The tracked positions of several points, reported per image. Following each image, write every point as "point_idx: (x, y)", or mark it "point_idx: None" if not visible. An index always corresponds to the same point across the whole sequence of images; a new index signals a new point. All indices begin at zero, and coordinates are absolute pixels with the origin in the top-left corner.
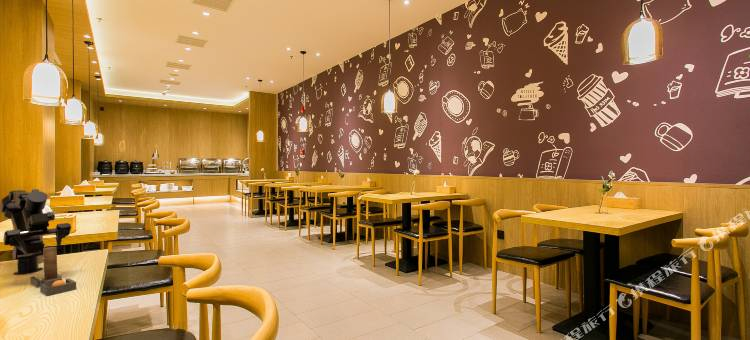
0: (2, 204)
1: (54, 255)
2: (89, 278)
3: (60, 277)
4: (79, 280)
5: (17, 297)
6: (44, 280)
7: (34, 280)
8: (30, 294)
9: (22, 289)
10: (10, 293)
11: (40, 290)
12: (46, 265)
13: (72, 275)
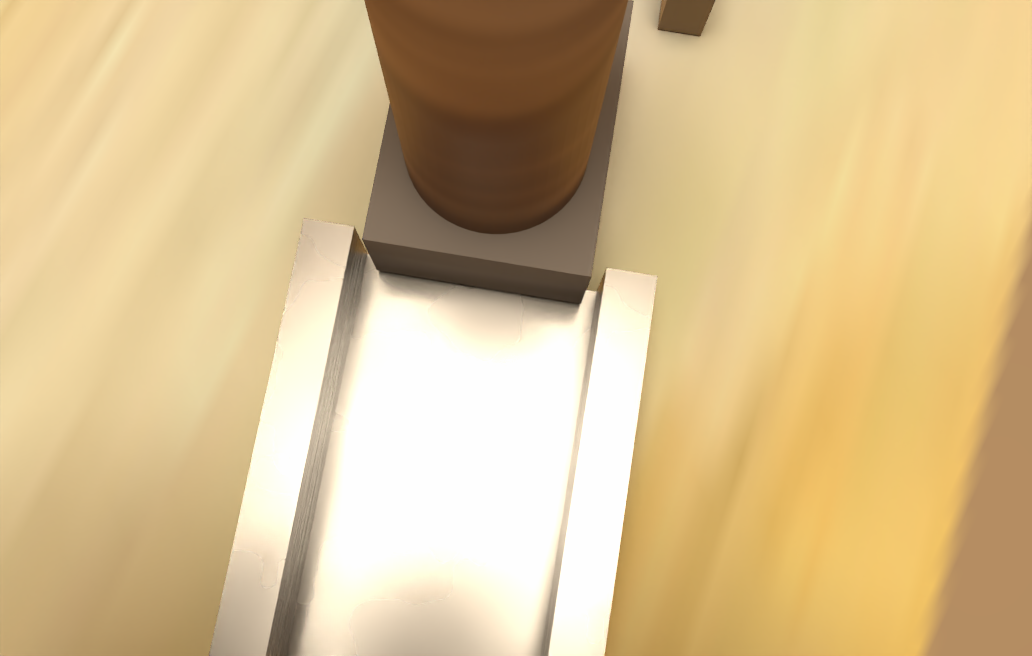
0: None
1: None
2: (25, 59)
3: (324, 227)
4: (154, 92)
5: (956, 45)
6: (614, 93)
7: (635, 421)
8: (817, 26)
9: (786, 412)
10: (951, 350)
11: (705, 16)
12: None
13: (10, 535)
